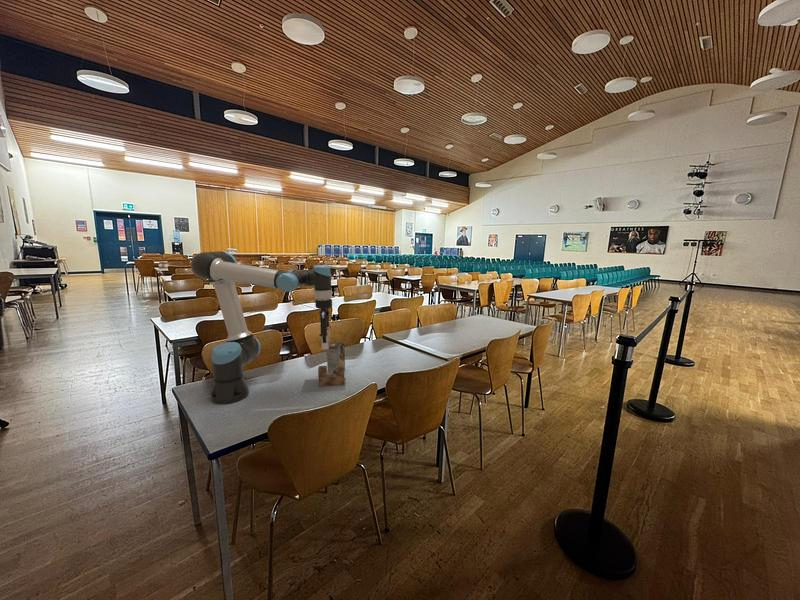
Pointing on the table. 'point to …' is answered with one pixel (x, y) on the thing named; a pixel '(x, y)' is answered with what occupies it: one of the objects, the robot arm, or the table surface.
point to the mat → (314, 386)
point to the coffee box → (335, 357)
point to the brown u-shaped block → (331, 376)
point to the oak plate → (328, 339)
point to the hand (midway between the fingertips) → (326, 345)
